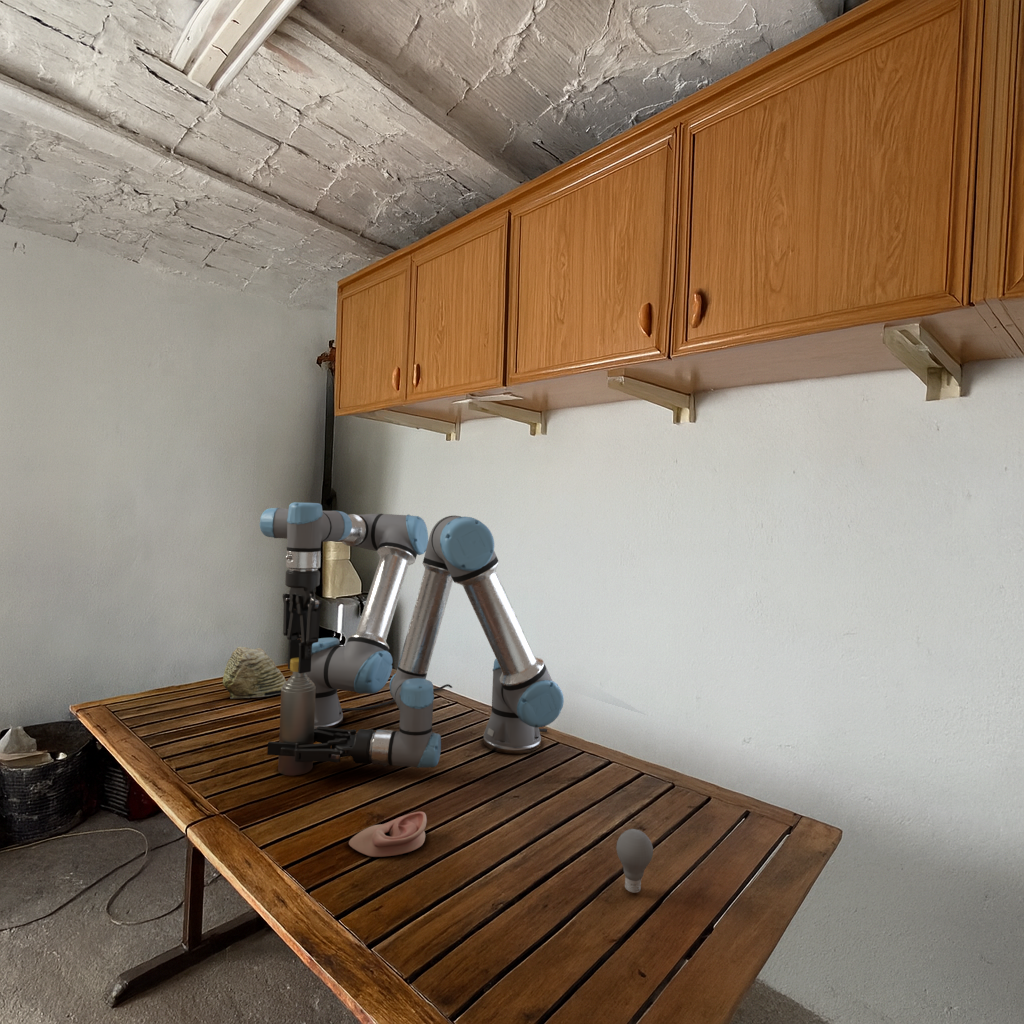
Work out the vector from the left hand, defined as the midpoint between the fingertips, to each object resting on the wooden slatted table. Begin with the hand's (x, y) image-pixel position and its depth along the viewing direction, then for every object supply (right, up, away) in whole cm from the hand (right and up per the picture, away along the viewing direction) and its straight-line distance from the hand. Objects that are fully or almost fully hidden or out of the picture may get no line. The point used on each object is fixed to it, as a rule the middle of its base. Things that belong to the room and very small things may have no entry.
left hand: (299, 669), depth 146 cm
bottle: (-1, -23, 0) cm, 23 cm away
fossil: (-31, -21, +52) cm, 64 cm away
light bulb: (+69, -27, -41) cm, 85 cm away
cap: (0, +2, 0) cm, 2 cm away
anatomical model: (+26, -25, -29) cm, 46 cm away
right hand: (-6, -17, +1) cm, 18 cm away
